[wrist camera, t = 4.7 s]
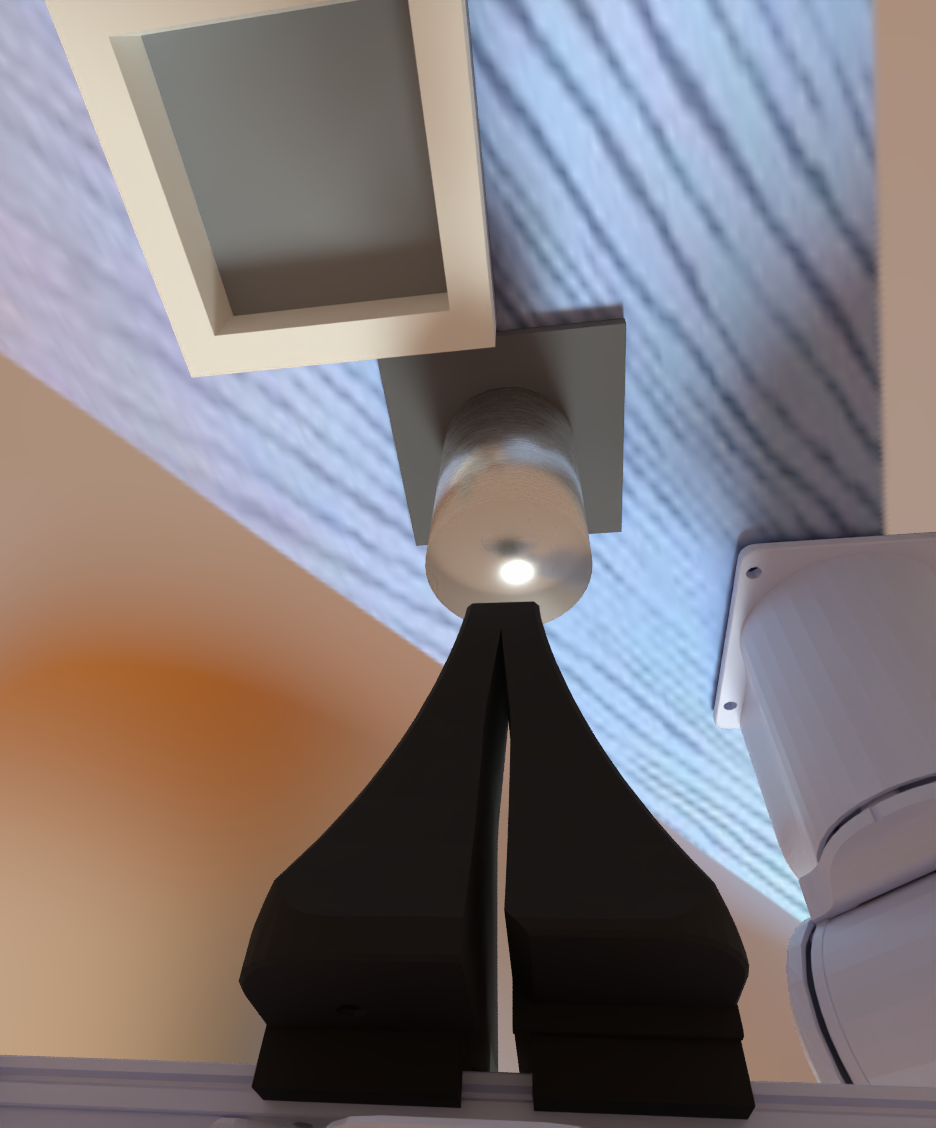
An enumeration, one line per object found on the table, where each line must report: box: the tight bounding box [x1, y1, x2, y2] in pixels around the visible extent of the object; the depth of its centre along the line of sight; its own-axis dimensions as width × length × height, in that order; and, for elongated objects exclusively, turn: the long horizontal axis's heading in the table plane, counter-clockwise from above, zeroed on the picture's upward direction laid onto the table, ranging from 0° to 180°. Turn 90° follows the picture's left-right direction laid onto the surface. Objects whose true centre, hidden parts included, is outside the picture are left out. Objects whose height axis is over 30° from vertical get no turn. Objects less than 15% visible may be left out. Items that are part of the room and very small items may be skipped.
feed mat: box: [377, 319, 626, 546], centre depth 21 cm, size 7×7×1 cm
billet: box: [425, 387, 592, 624], centre depth 19 cm, size 4×4×6 cm
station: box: [45, 0, 497, 377], centre depth 14 cm, size 13×8×3 cm, turn 7°
